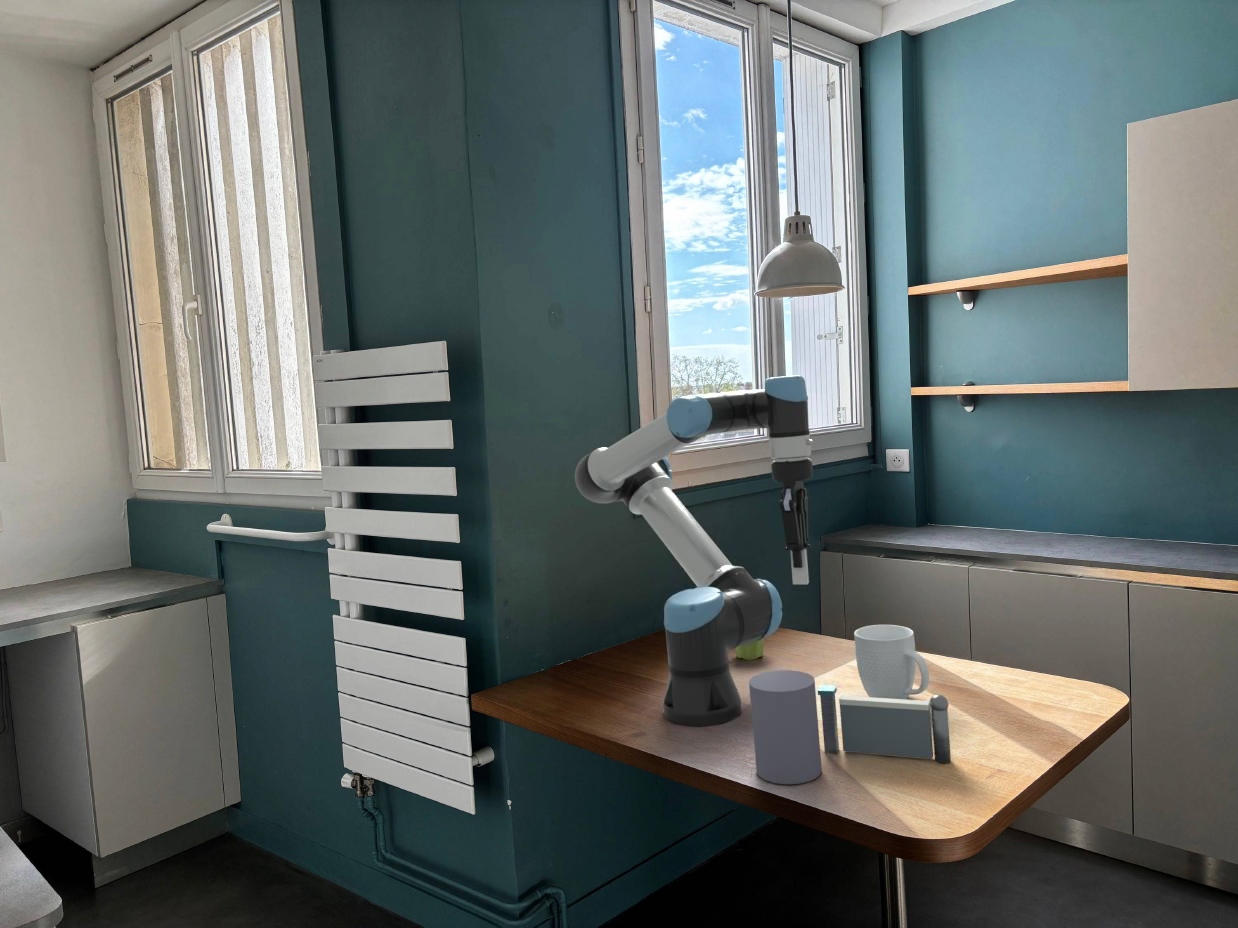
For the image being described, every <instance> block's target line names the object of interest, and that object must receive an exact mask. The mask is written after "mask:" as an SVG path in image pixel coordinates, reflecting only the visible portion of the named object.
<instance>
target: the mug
mask: <svg viewBox="0 0 1238 928" xmlns="http://www.w3.org/2000/svg"><path fill="white" fill-rule="evenodd" d="M853 636H854V649H855V651H854V652H855V658H856V659H855V661H856V667H857V671H858V672H857V673H858V675H859V678H860V682H861V685H862V686H863V689H864V691H865V693H866V694H867V697H873V698H889V699H904V700H908V697H909V696H912V695H919V694H922V693H924V692H925V691H926V690H927V688H928V687H929V683H930V672H929V668H928V665H927V663H926V661H925V659H924V658H923V656H922V655H921V654H920V653H918V652H917V651H916V643H915V633H914V631H913V630H912V629H911V628H909V627H906V626H902V625H896V624H873V625H866V626H863V627H860V628H858V629H856V630H854V633H853ZM916 666H918V669H919V672H920V676H921V679H920V680H921V682H920V686H919V687H918V688H917V689H913V686H914V684H915V679H916V677H915V676H916V673H917V672H916V670H917V669H916V668H917V667H916Z"/></svg>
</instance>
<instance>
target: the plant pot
mask: <svg viewBox="0 0 1238 928" xmlns="http://www.w3.org/2000/svg"><path fill="white" fill-rule="evenodd" d="M764 643H765V638H763V639H762V640H759V641H754V642H751V643H748V644H745V645H743V646H740V647H737V648H734V649H735V654H736V657H737V658H738V659H741V658H742V659H744V660H745V661H747V660H748V661H749V660H756V659H759V657H764V646H765V645H764Z"/></svg>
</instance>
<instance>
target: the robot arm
mask: <svg viewBox="0 0 1238 928" xmlns="http://www.w3.org/2000/svg"><path fill="white" fill-rule="evenodd" d="M669 403H670V404H669V407H667V409H666V412H665V413H663V414H662V415H660V416H658V417H656V418H655V419H653V420H652V421H650V422H648V423H647V424H645V425H643V426H642V427H640V428H638V429H637V430H635V431H633V432H632V433H630V434H628V435H627V436H625V437H623V438H622V439H620V440H618V441H616V442H615V443H614V444H612V445H610V446H609V447H598V448H596V449H595V450H594V449H593V451H591V452H590V453H587V454H586V455H585V456H584V457H582V458H581V460H579V462H578V464H577V465H576V468H575V471H574V482H575V484H576V488H577V489H578V491H579V493H580V494H581V495H582V496H583V497H584V498H585V499H587V500H589V501H590V502H592V503H596V504H612V503H618V502H623V503H624V505H625V506H626V507H627V508H628V509H629V511H630V512H631V513H632V514H634V515H642V517H643V518H644V520H646V522H647V523H648V524H649V526H650V527H651V528H652V530H653V531H654V533H656V535H657V536H658V538H659V539H660V540H661V541H662V543H663V544H664V546H666V548H667V549H668V550H669V551H670V553H671V555H672V556H673V557H674V558H675V560H676V561H677V562H678V564H679V565H680V566H681V567H682V568H683V570H684V572H685V573H686V574H687V575H688V576H689V578H690V579H691V580H692V582H693V583H694V584H695V585H696V587H695V588H688V589H684V590H681V591H679V592H677V593H674V594H673V595H672V596H670V597H669V598H668V599H667V600H666V602H665V603H664V607H663V610H664V611H663V612H664V619H663V627H664V629H665V639H666V650H667V661H668V662H667V663H668V671H669V677H668V680H667V681H668V682H667V685H666V689H665V694H664V698H663V716H664V718H666V719H667V720H668V721H670V722H671V723H674V724H678V725H682V726H690V727H691V726H693V727H698V726H700V727H701V726H712V725H718V724H719V725H720V724H722V723H727V722H729V721H732V720H734V719H736V718H737V717H738V716H740V714H742V713H741V712H742V698H741V695H740V693H739V691H738V688H737V686H736V683H735V682H734V679H733V676H732V674H731V671H730V663H729V662H730V661H729V652H728V651H731V650H734V649H735V648H737V647H740V646H743V645H745V644H748V643H751V642H754V641H759V640H762V639H763V638H764V639H765V638H767V637H769V636H771V635H773V634H774V633H775V632H776V631H777V629H778V628H779V627H780V624H781V622H782V618H783V611H782V608H783V604H782V599H781V597H780V593H779V592H778V590H777V588H776V587H775V585H773V584H772V583H771V582H769V581H768V580H767V579H761V578H755V579H754V578H753V577H752V576H751V574H750V573H749V572H748V571H747V570H746V568H744V567H743V566H740V565H739V566H738V565H733V564H732V563H731V561H729V559H728V558H727V557H726V556H725V554H724V553H723V552H722V550H721V549H720V548H719V547H718V546H717V544H716V543H715V542H714V541H713V539H712V538H711V537H710V536H709V534H708V533H707V532H706V530H704V529H703V527H702V526H701V525H700V524H699V522H698V521H697V520H696V519H695V517H694V516H693V515H692V513H691V512H690V511H689V510H688V509H687V507H685V506H686V505H684V504H683V502H682V501H681V500H680V499H679V498H678V496H677V495H676V494H675V492H674V491H673V489H674V488H673V486H674V483H673V471H672V469H671V463H670V461H669V460H668V456H670V455H672V454H673V453H676V452H677V451H679V450H681V449H683V448H685V447H686V446H688V445H690V444H692V443H694V442H696V441H698V440H701V439H702V438H703V437H706V436H709V435H714V434H722V433H729V432H730V433H731V432H736V431H743V430H745V431H746V430H756V429H758V430H759V429H767V430H768V431H767V432H768V444H769V445H768V446H769V457H770V459H773V461H772V462H771V464H770V469H771V478H772V480H773V482H776V483H780V482H781V483H782V491H781V492H780V496H781V497H780V498H781V500H780V499H779V503H778V504H779V507H780V508H779V509H780V511H781V515H782V516H781V518H782V523H783V524H782V525H783V531H784V536H785V544H786V547H785V551H789V552H790V564H791V574H792V575H791V578H792V585H808V584H809V583H810V579H809V578H810V577H809V567H808V565H809V564H808V553H807V549H808V548H809V549H810V548H811V547H812V546H811V543H809V540H810V538H809V513H808V512H809V507H808V505H809V504H808V502H809V501H808V500H809V492H808V491H807V488H805V485H804V481H807V480H812V478H813V477H814V472H813V471H814V470H813V469H814V468H813V461H812V459H811V458H809V457H810V456H811V455H812V448H811V446H812V445H813V444H814V440H813V439H810V437H811V436H810V434H811V433H810V425H809V406H808V405H809V404H808V403H809V396H808V392H807V385H806V381H805V378H804V377H803V376H802V375H800V374H799V375H798V374H795V375H786V376H775V377H768V378H766V379H765V380H764V388H762V389H749V390H748V389H747V390H734V391H733V390H732V391H727V392H720V393H719V392H717V393H706V394H688V395H684V396H680V397H677V398H675V399H673V400H672V401H671V402H669Z"/></svg>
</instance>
